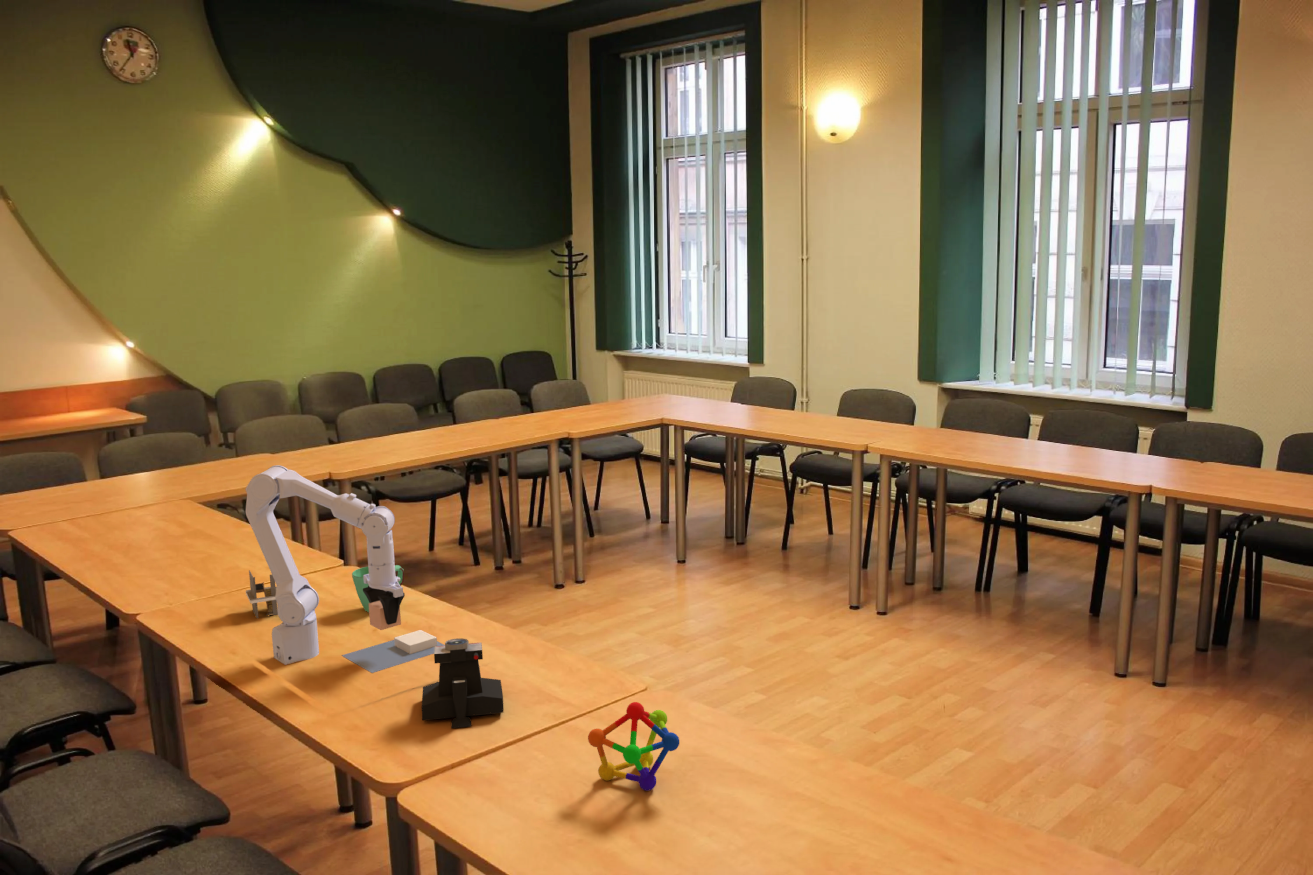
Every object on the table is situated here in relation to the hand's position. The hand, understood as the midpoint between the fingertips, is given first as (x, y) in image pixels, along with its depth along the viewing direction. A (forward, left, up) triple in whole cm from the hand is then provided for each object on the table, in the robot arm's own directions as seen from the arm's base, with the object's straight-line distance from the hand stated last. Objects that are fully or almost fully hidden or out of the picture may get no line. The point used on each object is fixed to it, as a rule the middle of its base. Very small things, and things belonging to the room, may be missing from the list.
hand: (385, 620), depth 245 cm
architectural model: (-7, +50, -10) cm, 51 cm away
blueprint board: (+2, 0, -9) cm, 9 cm away
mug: (+16, +32, -9) cm, 37 cm away
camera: (-3, -36, -9) cm, 37 cm away
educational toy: (+3, -82, -9) cm, 82 cm away
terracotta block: (0, 0, -1) cm, 1 cm away
